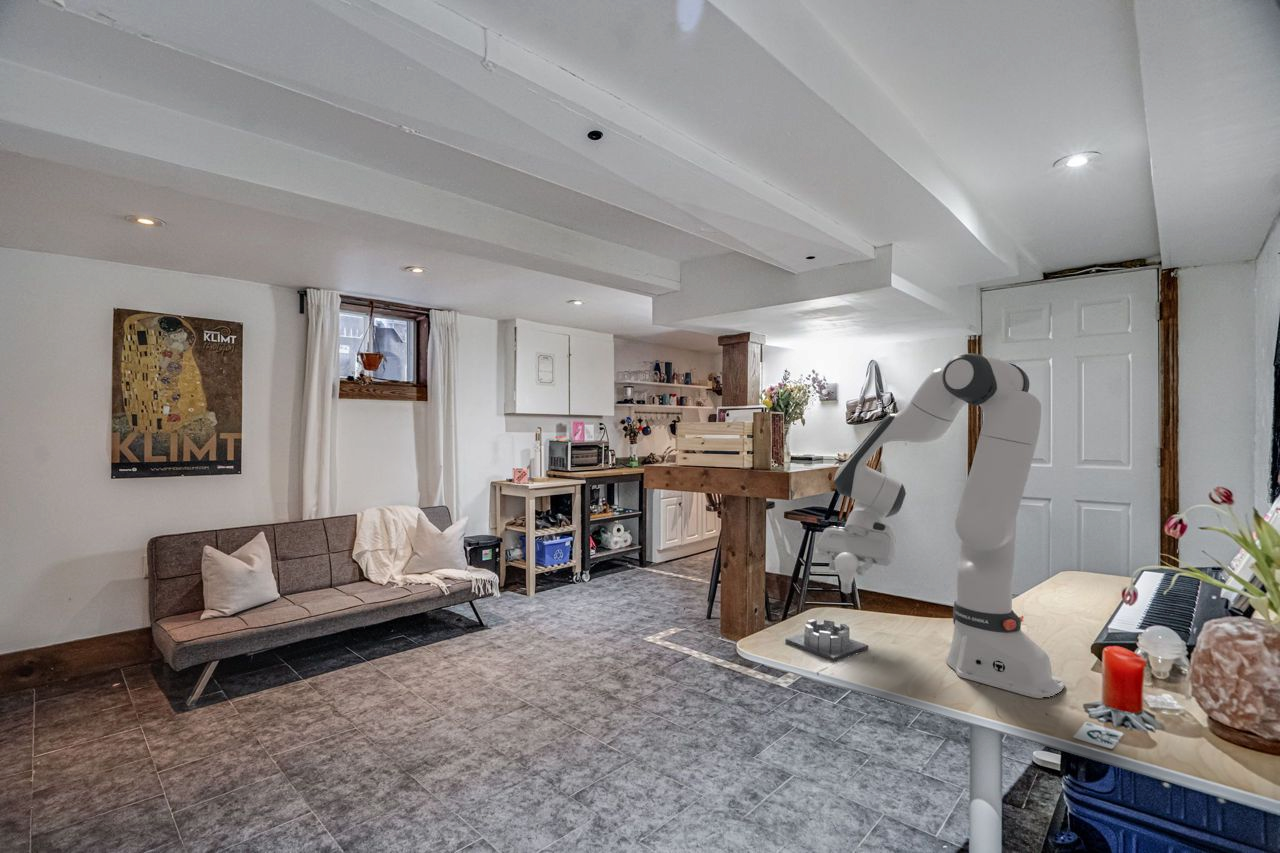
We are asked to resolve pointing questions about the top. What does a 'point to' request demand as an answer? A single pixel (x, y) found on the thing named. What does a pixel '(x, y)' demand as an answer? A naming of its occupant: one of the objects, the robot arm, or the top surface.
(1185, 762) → the top surface
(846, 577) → the lightbulb
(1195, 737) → the top surface
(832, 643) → the lamp socket
